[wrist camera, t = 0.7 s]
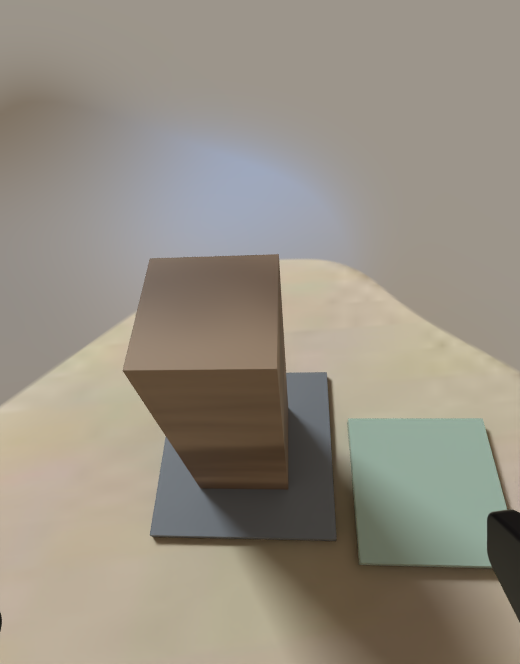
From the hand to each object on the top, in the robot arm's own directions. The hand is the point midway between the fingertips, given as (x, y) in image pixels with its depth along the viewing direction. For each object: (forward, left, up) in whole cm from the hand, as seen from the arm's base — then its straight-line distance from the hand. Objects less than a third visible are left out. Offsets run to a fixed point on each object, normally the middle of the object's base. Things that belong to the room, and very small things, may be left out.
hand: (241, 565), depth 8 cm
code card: (+7, +2, -14) cm, 16 cm away
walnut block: (+7, +2, -14) cm, 16 cm away
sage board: (+5, -7, -14) cm, 17 cm away
